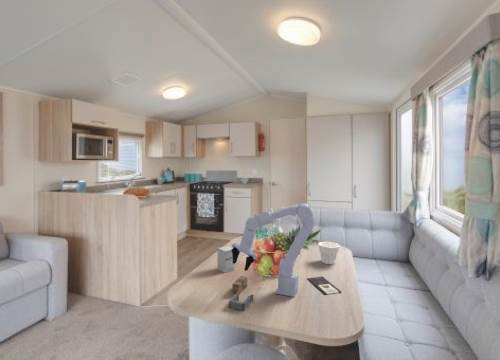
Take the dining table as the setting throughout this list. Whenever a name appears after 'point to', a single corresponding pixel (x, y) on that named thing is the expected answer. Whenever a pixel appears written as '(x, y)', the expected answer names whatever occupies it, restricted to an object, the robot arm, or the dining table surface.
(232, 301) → the gray angular bracket
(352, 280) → the dining table surface
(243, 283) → the slat
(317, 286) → the chocolate bar
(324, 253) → the cup
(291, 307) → the dining table surface
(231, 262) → the supplement box
